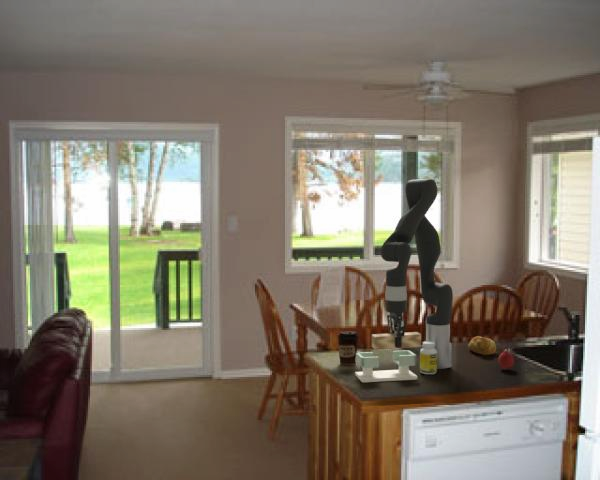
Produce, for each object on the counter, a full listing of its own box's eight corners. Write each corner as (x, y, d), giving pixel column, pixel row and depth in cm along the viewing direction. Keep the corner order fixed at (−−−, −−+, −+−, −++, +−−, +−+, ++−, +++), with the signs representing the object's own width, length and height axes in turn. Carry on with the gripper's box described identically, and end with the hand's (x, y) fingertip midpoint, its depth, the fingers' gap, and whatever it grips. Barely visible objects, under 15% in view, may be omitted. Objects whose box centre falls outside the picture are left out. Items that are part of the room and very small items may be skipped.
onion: (514, 368, 254) (514, 348, 253) (512, 372, 249) (513, 351, 248) (499, 367, 256) (499, 347, 256) (497, 370, 251) (497, 350, 250)
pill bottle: (426, 375, 244) (427, 345, 244) (416, 371, 250) (416, 341, 249) (440, 373, 247) (440, 343, 247) (429, 369, 253) (430, 340, 252)
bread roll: (463, 350, 284) (463, 332, 284) (481, 348, 288) (481, 330, 287) (481, 357, 272) (482, 338, 272) (500, 355, 276) (500, 336, 275)
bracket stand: (407, 372, 249) (408, 349, 249) (417, 379, 240) (417, 355, 239) (354, 375, 246) (355, 352, 245) (362, 382, 236) (362, 358, 235)
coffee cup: (357, 367, 256) (357, 334, 256) (336, 366, 258) (336, 334, 257) (359, 361, 265) (359, 330, 264) (339, 360, 267) (339, 329, 266)
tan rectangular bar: (417, 344, 234) (417, 331, 234) (421, 346, 230) (421, 334, 230) (371, 346, 231) (371, 334, 231) (375, 349, 227) (374, 336, 227)
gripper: (413, 301, 223) (413, 350, 225) (399, 294, 237) (399, 340, 238) (392, 302, 222) (392, 351, 223) (379, 295, 236) (379, 342, 237)
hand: (396, 345), depth 231 cm, fingers closed on tan rectangular bar, 4 cm apart
